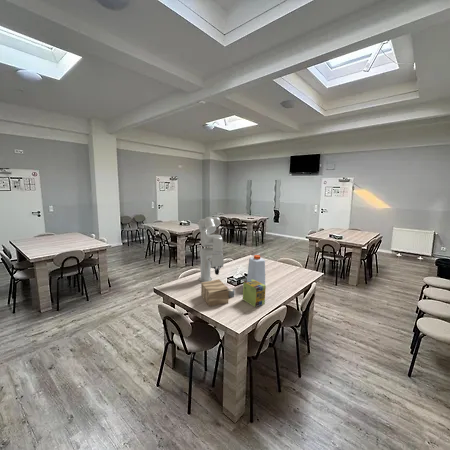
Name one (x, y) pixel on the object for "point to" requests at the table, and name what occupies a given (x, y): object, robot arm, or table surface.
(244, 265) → the table surface
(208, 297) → the wooden box
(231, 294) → the grey rounded piece
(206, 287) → the box lid
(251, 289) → the protein box
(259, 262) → the plastic bottle
